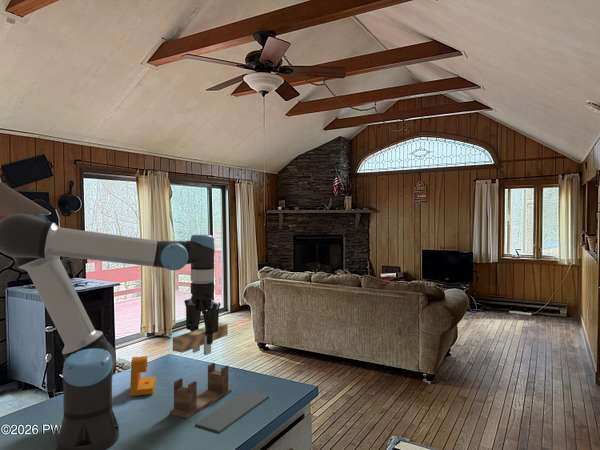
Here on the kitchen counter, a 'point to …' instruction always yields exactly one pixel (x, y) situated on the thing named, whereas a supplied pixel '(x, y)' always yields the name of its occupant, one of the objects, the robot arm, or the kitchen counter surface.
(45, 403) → the kitchen counter surface
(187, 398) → the bracket
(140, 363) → the orange hinge mount
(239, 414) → the mat
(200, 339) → the rail
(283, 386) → the kitchen counter surface
